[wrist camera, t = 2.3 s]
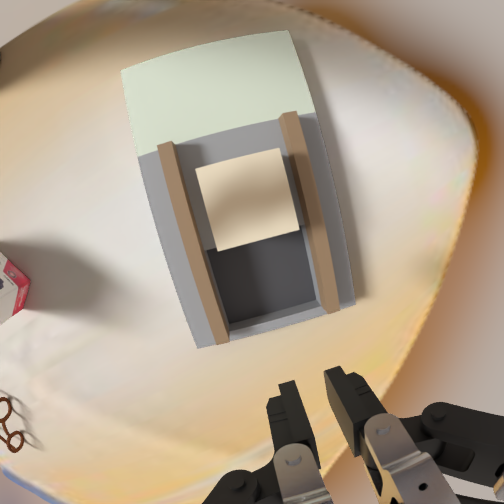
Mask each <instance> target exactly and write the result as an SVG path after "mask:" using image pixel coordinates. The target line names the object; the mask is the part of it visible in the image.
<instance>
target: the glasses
mask: <svg viewBox="0 0 504 504" xmlns="http://www.w3.org/2000/svg"><path fill="white" fill-rule="evenodd" d="M2 401H6V402H7V404H8V413H7V415H6V416H5V417H4V418H2V419H0V423H2V426H3V429H4V431H5V433H6V435H8V438H7V441H6V440H5V439H4V438H3V437H2V436H1V435H0V439H1V440H2V441H3V442H4V443H6V444H7V447H8V449H9V450H10V451H11V452H12V453H16V452H18V451H19V450H20V449H21V448H22V446H23V444H24V438H23V435H22V433H20V432H19V431H14V432H13V433H11V434H9V432H8V430H7V428H6V425H5V421H6V420H7V419H8V418H9V417H10V415H11V412H12V407H11V404H10V401H9V400H8V399H7V398H5V397H1V398H0V402H2ZM17 434H19V435H20V437H21V443H20V445H19V447H18V448H15V447H14V446H12V445H11V444H10V440H11V438H12V437H13V436H14V435H17ZM11 448H12V449H11Z"/></svg>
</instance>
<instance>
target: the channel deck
mask: <svg viewBox="0 0 504 504" xmlns="http://www.w3.org/2000/svg"><path fill="white" fill-rule="evenodd" d="M120 71H121V77H122V83H123V89H124V94H125V100H126V105H127V110H128V116H129V121H130V125H131V130H132V135H133V139H134V144H135V148H136V153H137V157H138V161H139V165H140V170H141V174H142V178H143V182H144V185H145V189H146V193H147V197H148V201H149V204H150V208H151V211H152V215H153V219H154V222H155V226H156V229H157V232H158V236H159V239H160V242H161V246H162V249H163V252H164V255H165V258H166V262H167V265H168V268H169V271H170V274H171V277H172V280H173V283H174V286H175V289H176V292H177V295H178V297H179V300H180V303H181V306H182V309H183V311H184V314H185V317H186V320H187V322H188V325H189V328H190V330H191V333H192V336H193V338H194V341H195V343H196V346H197V349H198V348H203V347H207V346H212V345H219V344H223V343H227V342H230V341H233V340H237V339H241V338H244V337H248V336H252V335H256V334H260V333H264V332H267V331H271V330H274V329H278V328H282V327H285V326H289V325H292V324H296V323H299V322H302V321H306V320H309V319H312V318H315V317H319V316H322V315H325V314H331V313H334V312H337V311H340V310H341V309H344V308H347V307H350V306H353V305H355V304H356V302H355V295H354V288H353V281H352V274H351V268H350V261H349V255H348V250H347V244H346V238H345V233H344V228H343V222H342V217H341V212H340V207H339V203H338V198H337V193H336V189H335V184H334V180H333V176H332V172H331V167H330V163H329V159H328V155H327V151H326V147H325V144H324V140H323V136H322V132H321V129H320V125H319V122H318V118H317V115H316V111H315V108H314V104H313V101H312V98H311V95H310V91H309V88H308V85H307V82H306V79H305V76H304V73H303V70H302V67H301V64H300V61H299V58H298V55H297V53H296V50H295V47H294V44H293V42H292V39H291V36H290V34H289V31H288V30H284V31H274V32H266V33H259V34H252V35H246V36H240V37H235V38H229V39H224V40H219V41H215V42H210V43H206V44H202V45H198V46H194V47H190V48H186V49H183V50H179V51H176V52H172V53H169V54H166V55H162V56H159V57H156V58H153V59H150V60H147V61H144V62H142V63H139V64H136V65H133V66H131V67H128V68H125V69H123V70H120ZM276 148H280V152H281V156H282V160H283V164H284V167H285V171H286V175H287V179H288V183H289V187H290V191H291V195H292V200H293V204H294V208H295V212H296V217H297V221H298V225H299V230H296V231H293V232H289V233H285V234H281V235H278V236H274V237H270V238H266V239H263V240H259V241H255V242H251V243H248V244H244V245H240V246H236V247H233V248H229V249H225V250H222V251H218V250H217V247H216V243H215V240H214V236H213V233H212V229H211V226H210V222H209V218H208V215H207V211H206V207H205V204H204V200H203V196H202V193H201V189H200V185H199V181H198V178H197V174H196V170H195V169H196V168H200V167H204V166H207V165H211V164H214V163H218V162H222V161H226V160H229V159H233V158H237V157H241V156H245V155H250V154H254V153H258V152H262V151H267V150H271V149H276Z"/></svg>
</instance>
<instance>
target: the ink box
mask: <svg viewBox="0 0 504 504" xmlns="http://www.w3.org/2000/svg"><path fill="white" fill-rule="evenodd" d="M29 285H30V279H29V278H27V277H26V276H25V275H24V274H23V273H22V272H21V271H20V270H19V269H17V268H16V267H15V266H14V265H13V264H12V263H11V262H10V261H9V260H8V259H7V258H6V257H5V256H4V255H3V254H2V253H1V252H0V325H1V324H3V323H4V322H5V321H7V320H8V319H9V318H11V317H12V316H13V315H15V314H16V313H18V312H19V311H21V310H22V309H23V307H24V303H25V300H26V297H27V293H28V289H29Z"/></svg>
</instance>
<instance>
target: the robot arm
mask: <svg viewBox="0 0 504 504" xmlns="http://www.w3.org/2000/svg"><path fill="white" fill-rule="evenodd" d="M0 58H1V55H0ZM324 378H325V384H326V390H327V396H328V400H329V403H330V406H331V408H332V410H333V412H334V415H335V417H336V419H337V421H338V423H339V425H340V427H341V429H342V432H343V434H344V436H345V438H346V440H347V442H348V444H349V447H350V449H351V451H352V453H353V455H354V457H357V456H359V455H361V456H362V458H363V460H364V468H365V471H366V473H367V475H368V477H369V480H370V482H371V485H372V487H373V489H374V492H375V494H376V497H377V499H378V502H379V504H504V502H496V501H489V500H483V499H477V498H473V497H467V496H462V495H458V494H455V493H454V492H453V490H452V489H451V487H450V486H449V484H448V482H447V481H446V479H445V477H444V476H443V474H447V475H450V476H453V477H456V478H459V479H463V480H466V481H470V482H473V483H477V484H480V485H484V486H488V487H493V488H494V493H495V496H496V498H497V499H498V500H503V501H504V416H499V415H494V414H490V413H485V412H481V411H477V410H472V409H468V408H464V407H460V406H457V405H453V404H449V403H445V402H436V403H433V404H430V405H429V406H427V407H426V408H425V409H424V410H423V412H422V415H419V416H414V417H410V418H398V417H396V416H395V415H393V414H389V413H387V411H386V410H385V408H384V407H383V405H382V404H381V403H380V401H379V400H378V398H377V397H376V395H375V394H374V392H373V391H372V390H371V388H370V387H369V385H368V384H367V382H366V381H365V379H364V378H363V377H362V376H360V375H358V374H357V373H355V372H353V373H350V374H347V375H346V374H345V373H344V371H343V369H342V368H341V366H337V367H334V368H331V369H328V370H325V371H324ZM278 385H279V389H280V393H281V395H280V396H276V397H273V398H269V401H268V404H267V406H266V409H267V414H268V419H269V424H270V429H271V434H272V439H273V444H274V450H275V452H274V456H273V458H272V460H271V461H270V462H269V463H268V464H267V465H265V466H264V467H262V468H260V469H258V470H256V471H254V472H252V473H251V472H250V471H247V470H234V471H231V472H229V473H227V474H225V475H224V476H223V477H222V478H221V479H220V480H219V482H218V483H217V485H216V486H215V487H214V489H213V490H212V491H211V493H210V494H209V495H208V497H207V498H206V499H205V500H204V502H203V503H202V504H333V501H332V499H331V496H330V494H329V492H328V491H327V490H326V487H325V485H324V482H323V480H322V477H321V474H320V472H319V469H321V466H320V461H319V456H318V451H317V447H316V442H315V437H314V434H313V431H312V428H311V426H310V423H309V420H308V417H307V414H306V412H305V409H304V406H303V403H302V400H301V398H300V395H299V392H298V389H297V386H296V384H295V381H294V380H292V381H289V382H285V383H282V384H278ZM442 473H443V474H442Z"/></svg>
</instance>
